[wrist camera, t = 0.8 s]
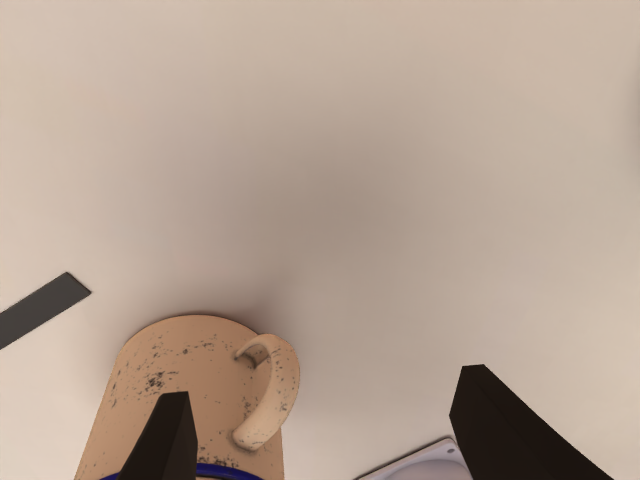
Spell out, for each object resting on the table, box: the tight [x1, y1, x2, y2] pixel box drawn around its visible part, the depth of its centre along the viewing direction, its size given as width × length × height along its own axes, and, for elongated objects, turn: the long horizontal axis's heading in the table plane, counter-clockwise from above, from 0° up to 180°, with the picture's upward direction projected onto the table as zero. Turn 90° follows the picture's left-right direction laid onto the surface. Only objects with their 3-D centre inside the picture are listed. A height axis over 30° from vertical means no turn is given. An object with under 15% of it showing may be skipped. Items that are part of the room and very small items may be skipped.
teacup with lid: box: [74, 315, 300, 480], centre depth 19 cm, size 12×9×12 cm
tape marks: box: [0, 272, 91, 350], centre depth 25 cm, size 16×11×1 cm, turn 30°
